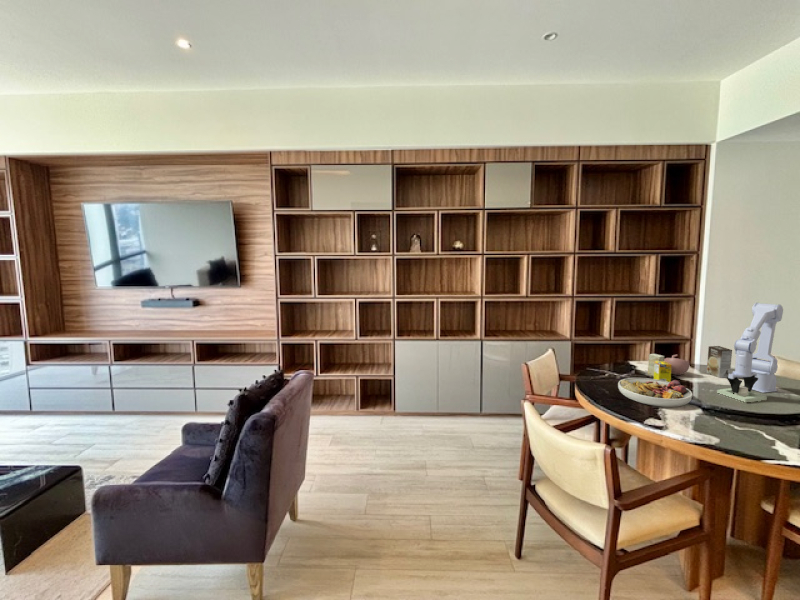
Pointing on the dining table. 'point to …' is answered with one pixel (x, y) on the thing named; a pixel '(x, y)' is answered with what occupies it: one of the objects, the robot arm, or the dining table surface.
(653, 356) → the skincare box
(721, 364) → the coffee box
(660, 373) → the supplement box
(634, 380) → the bowl
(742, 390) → the white egg shape
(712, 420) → the dining table surface
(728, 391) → the holder
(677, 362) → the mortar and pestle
